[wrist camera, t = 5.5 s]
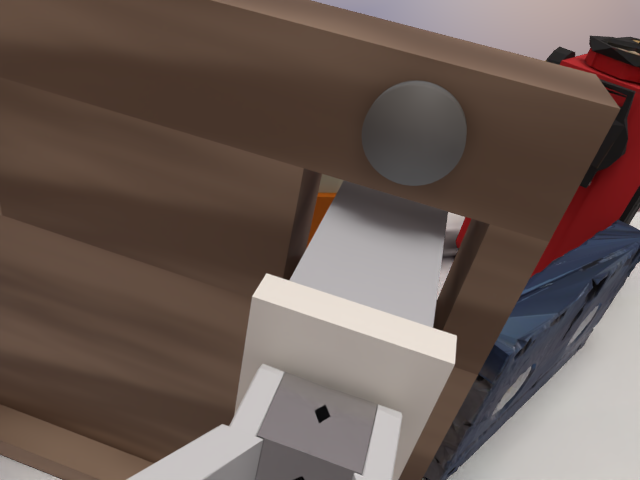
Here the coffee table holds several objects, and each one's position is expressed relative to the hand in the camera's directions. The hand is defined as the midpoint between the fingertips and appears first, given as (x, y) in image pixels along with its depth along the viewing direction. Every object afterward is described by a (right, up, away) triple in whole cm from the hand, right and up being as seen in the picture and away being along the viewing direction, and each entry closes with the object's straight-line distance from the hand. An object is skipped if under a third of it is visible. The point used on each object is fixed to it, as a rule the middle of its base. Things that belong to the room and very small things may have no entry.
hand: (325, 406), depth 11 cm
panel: (-8, -7, +15) cm, 18 cm away
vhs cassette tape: (+11, -6, +22) cm, 26 cm away
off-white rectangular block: (+1, 0, +4) cm, 4 cm away
